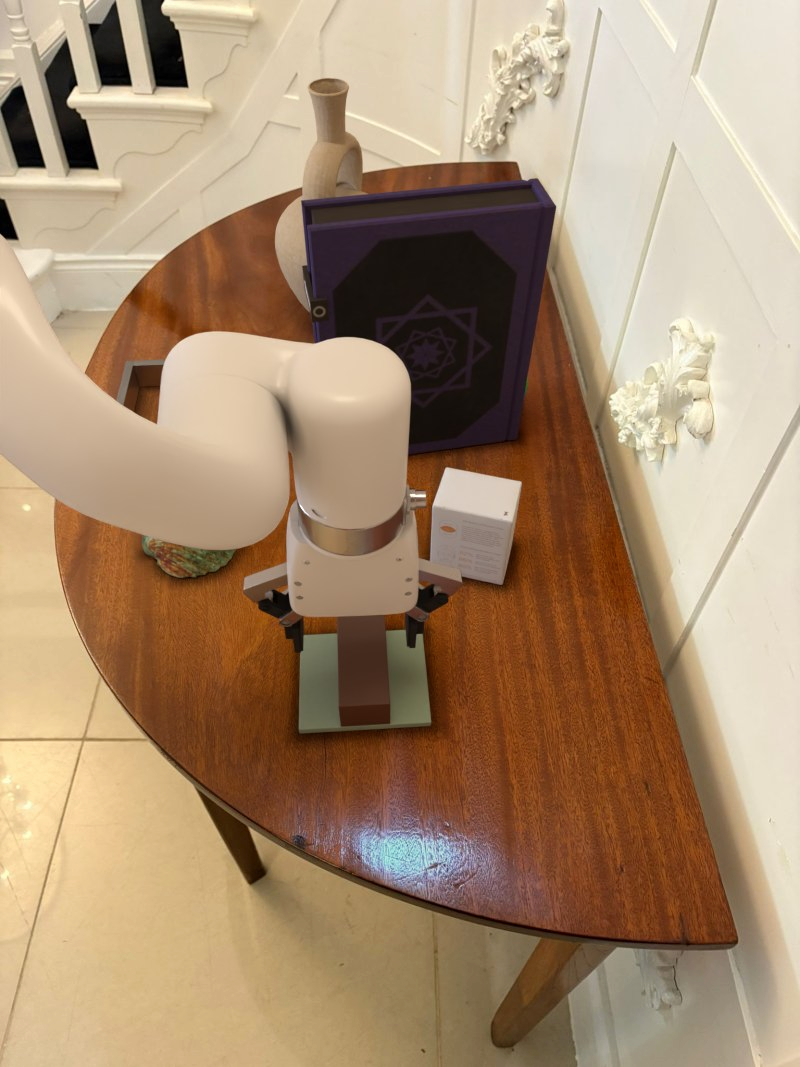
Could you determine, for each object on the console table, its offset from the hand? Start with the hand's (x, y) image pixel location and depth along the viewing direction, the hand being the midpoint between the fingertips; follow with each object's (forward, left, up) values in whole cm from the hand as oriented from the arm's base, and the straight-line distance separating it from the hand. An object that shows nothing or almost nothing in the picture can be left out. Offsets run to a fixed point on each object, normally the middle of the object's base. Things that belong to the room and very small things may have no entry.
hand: (354, 636), depth 67 cm
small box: (+13, +14, -8) cm, 21 cm away
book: (+8, +33, -8) cm, 35 cm away
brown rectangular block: (+1, 0, -7) cm, 7 cm away
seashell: (-17, +18, -8) cm, 26 cm away
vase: (0, +60, -8) cm, 61 cm away
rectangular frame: (-19, +38, -8) cm, 43 cm away
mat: (+1, 0, -8) cm, 8 cm away
